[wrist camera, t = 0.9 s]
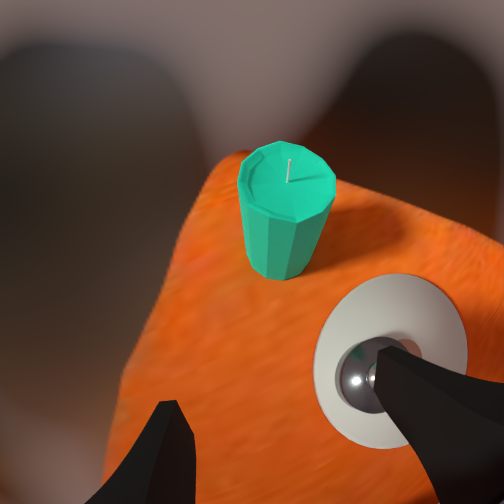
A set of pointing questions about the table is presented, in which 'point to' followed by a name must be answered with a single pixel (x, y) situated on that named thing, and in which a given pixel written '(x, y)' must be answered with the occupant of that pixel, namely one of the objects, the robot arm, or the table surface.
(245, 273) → the table surface
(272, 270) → the candle
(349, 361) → the cover
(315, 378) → the cream flat disc
